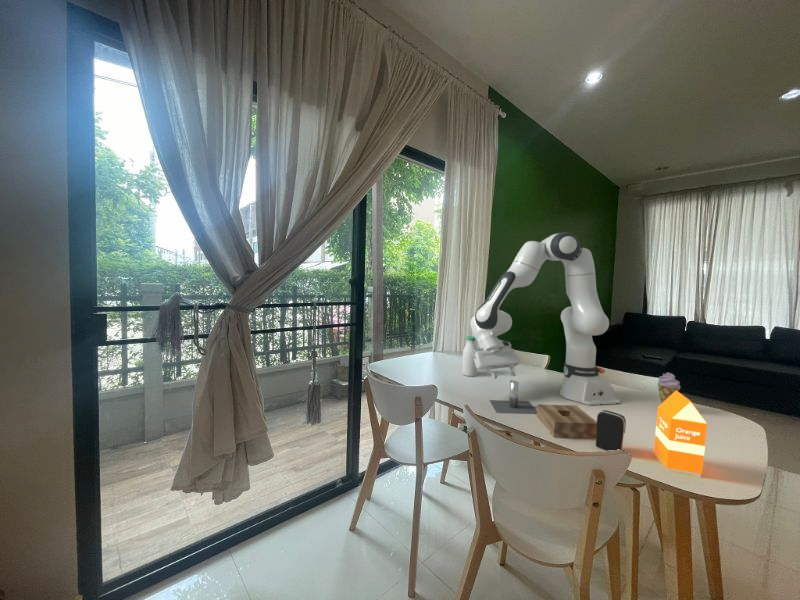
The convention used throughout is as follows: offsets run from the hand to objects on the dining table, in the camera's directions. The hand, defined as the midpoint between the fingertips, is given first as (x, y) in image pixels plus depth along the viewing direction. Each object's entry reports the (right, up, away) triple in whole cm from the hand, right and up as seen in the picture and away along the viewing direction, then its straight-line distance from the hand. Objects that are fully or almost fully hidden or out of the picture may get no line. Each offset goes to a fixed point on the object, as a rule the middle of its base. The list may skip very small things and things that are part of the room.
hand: (504, 376), depth 129 cm
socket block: (+14, -13, -20) cm, 27 cm away
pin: (+2, -11, -4) cm, 12 cm away
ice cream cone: (+62, -12, -5) cm, 63 cm away
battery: (+21, -14, -33) cm, 41 cm away
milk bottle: (-6, -8, +36) cm, 37 cm away
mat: (+2, -11, -4) cm, 12 cm away
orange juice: (+34, -15, -40) cm, 55 cm away
